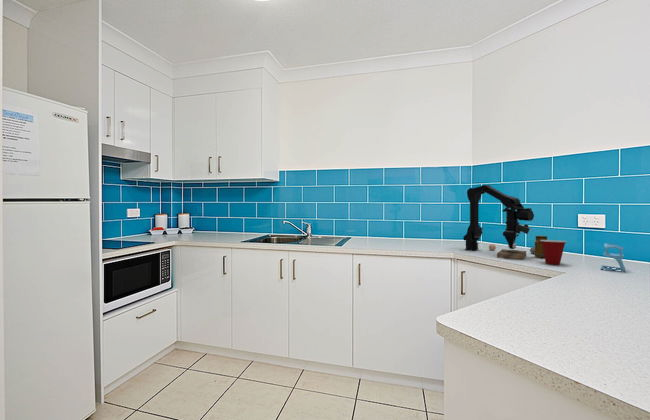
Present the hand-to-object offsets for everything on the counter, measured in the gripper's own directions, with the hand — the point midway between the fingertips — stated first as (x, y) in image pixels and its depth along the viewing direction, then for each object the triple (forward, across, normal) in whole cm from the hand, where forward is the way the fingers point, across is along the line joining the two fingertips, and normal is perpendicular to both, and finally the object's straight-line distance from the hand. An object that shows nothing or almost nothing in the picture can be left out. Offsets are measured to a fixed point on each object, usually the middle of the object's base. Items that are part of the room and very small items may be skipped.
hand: (511, 247), depth 173 cm
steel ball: (-1, 0, 0) cm, 1 cm away
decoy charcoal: (+3, +16, -9) cm, 19 cm away
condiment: (+5, +5, -14) cm, 16 cm away
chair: (+5, -11, -41) cm, 43 cm away
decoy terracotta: (+3, +16, +13) cm, 21 cm away
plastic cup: (+5, -10, -19) cm, 22 cm away
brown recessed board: (+5, 0, 0) cm, 5 cm away
